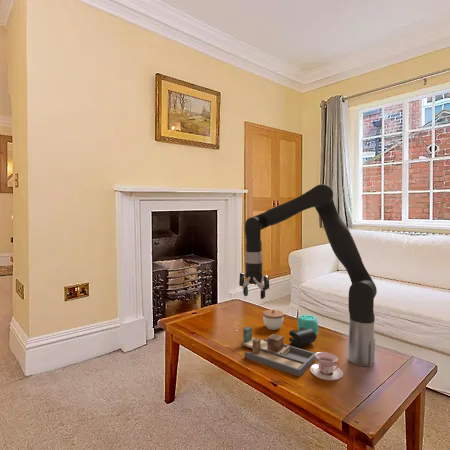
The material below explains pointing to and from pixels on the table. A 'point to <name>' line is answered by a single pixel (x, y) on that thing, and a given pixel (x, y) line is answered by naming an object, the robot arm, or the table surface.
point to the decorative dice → (308, 323)
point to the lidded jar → (273, 319)
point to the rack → (294, 354)
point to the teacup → (326, 367)
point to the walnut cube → (275, 342)
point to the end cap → (302, 337)
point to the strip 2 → (272, 357)
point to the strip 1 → (249, 341)
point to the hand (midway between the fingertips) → (254, 297)
